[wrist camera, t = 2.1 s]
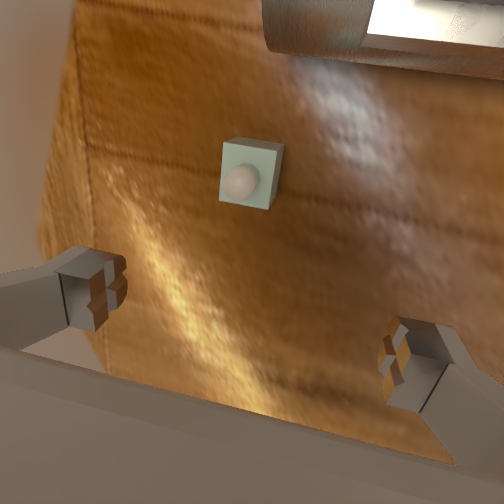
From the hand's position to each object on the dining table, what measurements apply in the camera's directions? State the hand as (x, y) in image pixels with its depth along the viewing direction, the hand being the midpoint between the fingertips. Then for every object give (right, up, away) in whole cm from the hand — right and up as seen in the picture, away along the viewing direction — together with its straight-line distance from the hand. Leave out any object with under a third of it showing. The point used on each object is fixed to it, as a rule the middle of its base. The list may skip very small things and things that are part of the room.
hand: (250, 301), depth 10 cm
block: (+1, +10, +22) cm, 24 cm away
